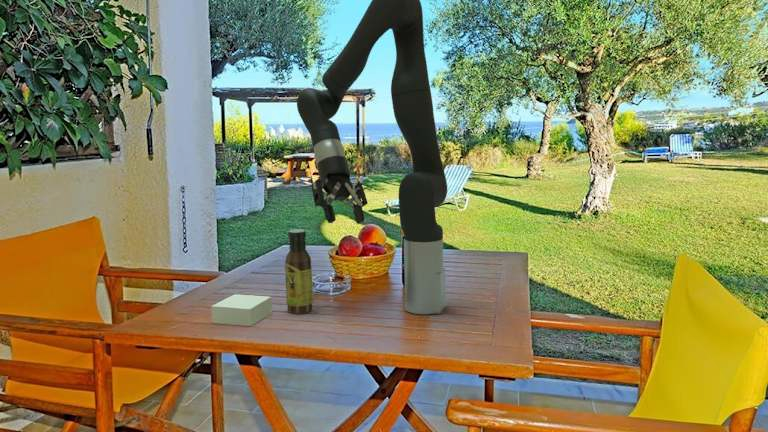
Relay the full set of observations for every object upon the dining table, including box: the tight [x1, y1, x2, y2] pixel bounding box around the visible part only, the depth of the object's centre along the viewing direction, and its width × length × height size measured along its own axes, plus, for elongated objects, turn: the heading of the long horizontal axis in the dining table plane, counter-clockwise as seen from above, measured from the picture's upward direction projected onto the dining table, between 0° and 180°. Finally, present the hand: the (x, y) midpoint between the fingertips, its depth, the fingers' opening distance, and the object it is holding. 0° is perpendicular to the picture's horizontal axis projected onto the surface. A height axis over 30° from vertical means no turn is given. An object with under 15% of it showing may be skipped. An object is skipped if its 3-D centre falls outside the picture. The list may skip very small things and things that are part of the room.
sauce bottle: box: [284, 228, 314, 315], centre depth 141 cm, size 6×6×20 cm
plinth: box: [210, 293, 273, 327], centre depth 138 cm, size 10×10×4 cm
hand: (346, 222), depth 139 cm, fingers open, 8 cm apart
